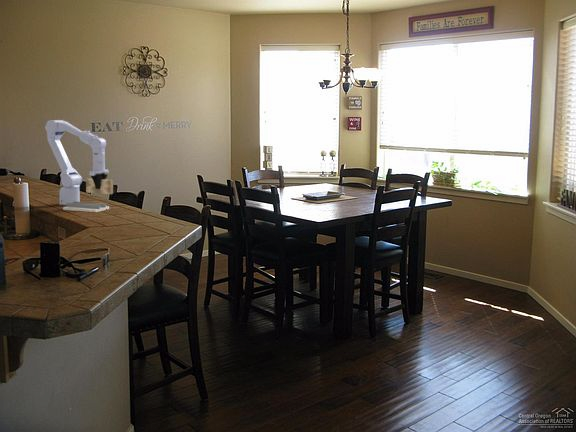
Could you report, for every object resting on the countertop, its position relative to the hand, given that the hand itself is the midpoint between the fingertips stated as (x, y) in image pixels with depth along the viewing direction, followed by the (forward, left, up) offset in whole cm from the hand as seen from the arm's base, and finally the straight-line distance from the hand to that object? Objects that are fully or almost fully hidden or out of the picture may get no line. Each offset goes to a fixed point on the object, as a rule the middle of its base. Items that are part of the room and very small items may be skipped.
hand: (99, 188), depth 304 cm
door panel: (0, 0, -2) cm, 2 cm away
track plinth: (0, -12, -9) cm, 15 cm away
